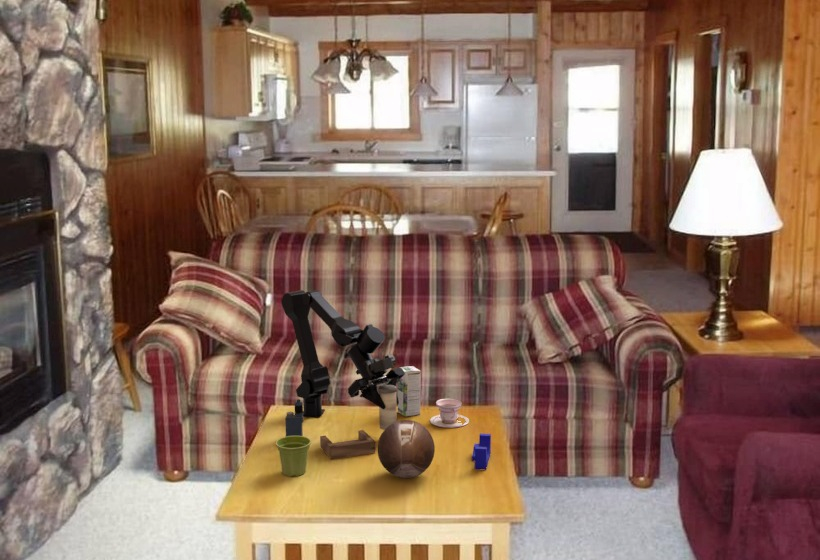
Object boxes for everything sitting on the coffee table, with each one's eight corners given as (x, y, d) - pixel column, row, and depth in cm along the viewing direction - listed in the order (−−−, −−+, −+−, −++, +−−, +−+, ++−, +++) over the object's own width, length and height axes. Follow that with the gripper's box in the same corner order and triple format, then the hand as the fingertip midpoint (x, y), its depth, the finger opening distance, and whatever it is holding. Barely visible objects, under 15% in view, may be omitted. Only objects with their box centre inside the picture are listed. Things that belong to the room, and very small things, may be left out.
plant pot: (319, 470, 270) (318, 439, 268) (296, 482, 262) (295, 450, 260) (292, 463, 275) (291, 433, 273) (269, 474, 267) (268, 443, 266)
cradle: (320, 447, 287) (320, 436, 286) (363, 441, 291) (363, 429, 291) (331, 459, 278) (331, 447, 277) (375, 452, 282) (375, 441, 282)
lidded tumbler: (380, 423, 295) (380, 384, 293) (398, 424, 294) (397, 385, 292) (377, 429, 290) (377, 389, 288) (395, 430, 289) (395, 390, 287)
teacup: (424, 418, 312) (424, 398, 311) (461, 414, 315) (461, 395, 314) (437, 430, 300) (437, 410, 299) (474, 426, 304) (474, 406, 303)
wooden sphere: (385, 489, 256) (385, 433, 254) (372, 468, 271) (371, 415, 268) (441, 483, 260) (441, 428, 257) (425, 462, 275) (425, 410, 272)
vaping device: (303, 440, 292) (302, 401, 290) (285, 440, 292) (284, 401, 290) (304, 437, 295) (303, 398, 292) (286, 437, 295) (285, 398, 292)
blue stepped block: (474, 453, 282) (474, 433, 280) (490, 454, 281) (490, 434, 280) (469, 469, 270) (469, 448, 269) (486, 470, 269) (486, 449, 268)
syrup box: (396, 411, 317) (396, 367, 314) (413, 409, 320) (413, 365, 317) (404, 417, 312) (403, 372, 309) (421, 414, 315) (421, 369, 312)
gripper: (354, 353, 284) (381, 399, 278) (400, 340, 297) (427, 384, 292) (335, 374, 291) (362, 419, 285) (381, 361, 304) (408, 404, 298)
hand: (391, 406), depth 290 cm, fingers closed on lidded tumbler, 5 cm apart
